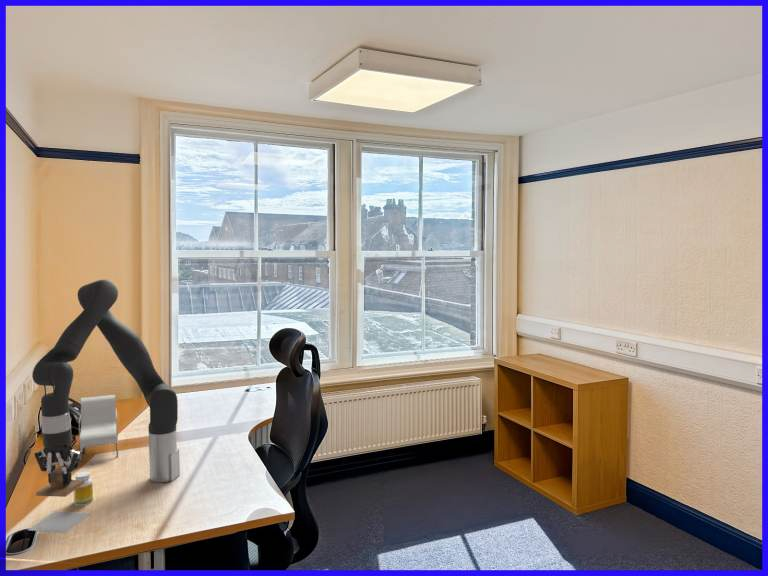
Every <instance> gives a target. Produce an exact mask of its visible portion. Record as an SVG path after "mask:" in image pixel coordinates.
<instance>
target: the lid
mask: <svg viewBox="0 0 768 576" xmlns="http://www.w3.org/2000/svg"><path fill="white" fill-rule="evenodd" d="M63 474H64V473H63V470H62V467H56V469H55V470H53V471H51V472H50V482H51V485H50V483H48V484H47V485H46V486H43V488H40V489H39V490H38V491H36V492H35V496H36V497H61V498H62V497H63V498H64V497H65V498H66V497H68V496H69V495H71V493H74V490H76V489H77V488H79V487H80V486H81V485H83V484H84V480H76V479H72V481H71V482H70V484H68V485H67V486H64V483H63Z"/></svg>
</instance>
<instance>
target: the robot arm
mask: <svg viewBox="0 0 768 576" xmlns="http://www.w3.org/2000/svg"><path fill="white" fill-rule="evenodd" d="M118 290H119V289H118V288H117V285H115V283H114V282H113V281H111V280H109V279H98V280H96V281H93V282H90V283H88V284H85V285H82V286H81V287H80V288H79V289H78V290H77V300H78V302H79V304H80V306H81V308H82V309H83V310H82V311H81V313H80V314H78V316H76V318H75V319H73V321H71V323H70V324H69V325H68V326H67V327H66V328H65V329H64V331H63V332H62V333H61V335H59V336H60V337H59V338H58V339H57V341H56V343H55V345H54V347H52V348H51V349H50V350H49V351H47V353H45V355H44V356H42V358H40V359H39V360H38V361H37V363H36V364H35V365H34V367H33V370H32V375H31V376H32V380H33V382H34V384H36V385H38V386H41V387H42V386H43V387H45V386H52V387H54V389H53V392H49V393H46V394H44V395H43V396H42V397H41V399H40V402H41V403H40V406H41V408H40V409H41V435H42V437H41V438H42V445H43V446H42V447H43V449H40V450H37V451H36V452H35V453H34V457H35V459H36V462H37V464H38V466H39V468H40V471H42V472H46V474H47V478H48V484H50V485H51V482H50V472H51V471H53V470H55V469H56V468H57V464H58V463H59V468H62V470H63V473H64V474H63V483H64V486H67V485H68V484H70V482H71V481H72V480H73V479H72V472H73V471H75V470H76V469H78V467H79V464H80V458H81V459H82V457H81V454H82V455H83V451H82V452H81V450H80V451H79V450H78V451H77V450H75V449H74V448H73V446H72V442H73V437H72V436H73V435H72V424H71V423H72V422H71V416H70V415H71V414H70V405H69V396H70V393H71V388H72V384H73V380H74V369H73V367H72V365H71V364H70V362H74V361H75V360H76V359H77V358H78V356H79V354H80V353H81V352H82V349H83V348H84V346H85V345H86V342H87V341H88V339H89V338H90V336H91V334H92V333H93V331H94V330H95V328H96V327H97V328H98V329H99V331H100V332H101V334H102V335H103V337H104V339H106V341H107V342H108V344H109V345H110V347H111V350H112V351H113V352H114V354H115V356H116V357H117V359H118V360H119V361H120V363H121V364H122V366H123V368H125V370H126V371H127V372H128V373H129V374H130V375H131V377H132V378H133V379H134V380H135V381H136V382H135V383H137V386H138V387H139V389H140V391H141V393H142V395H143V397H144V399H145V402H146V404H147V405H148V407H149V423H148V456H149V457H148V458H149V461H148V462H149V480H150V481H151V482H153V483H166V482H173V481H174V480H175V479H177V478H178V476H180V474H181V469H180V468H181V466H180V464H181V463H180V449H179V448H178V445H177V443H178V442H177V440H178V439H177V425H178V419H179V418H178V417H179V416H178V414H179V411H178V410H179V409H178V406H179V405H178V403H179V402H178V396H177V394H176V392H175V390H173V389H172V388H171V387H170V386H168V384H167V383H166V382H165V381H164V380H163V378H162V377H161V376H160V374H159V373H158V372H157V370H156V368H155V366H154V363H153V361H152V358H151V355H150V354H149V351H148V348H147V347H146V345H145V344H144V342H143V340H142V339H141V337H140V336H139V335H138V333H137V332H136V331H135V330H133V329H132V328H131V327H129V326H127V324H125V323H123V322H122V321H120V320H119V319H117V318H116V316H115V315H114V314H113V313H112V311H111V310H110V309H111V308H112V307H113V306H114V304H115V303H116V302H117V300H118V297H119V291H118ZM70 456H71V457H70Z"/></svg>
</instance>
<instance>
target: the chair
mask: <svg viewBox="0 0 768 576" xmlns="http://www.w3.org/2000/svg"><path fill="white" fill-rule="evenodd" d="M118 432H119V431H118V409H117V408H116V394H108V395H99V396H89V397H81V398H80V414H79V419H78V437H79V438H78V439H79V440H78V441H79V442H78V444H79V445H78V446H79V447H78V449H79V450H78V451H81V452H82V454H81V458H80V461H79V463H80V462H82V455H83V449H84V448H91V447H97V446H98V447H99V446H106V445H115V444H116V456H117V457H119V440H118V438H119V437H118V436H119V434H118Z"/></svg>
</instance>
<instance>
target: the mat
mask: <svg viewBox="0 0 768 576" xmlns="http://www.w3.org/2000/svg"><path fill="white" fill-rule="evenodd" d="M91 514H92V512H79V511H78V512H77V511H76V512H75V511H64V510H63V511H59V510H55V511H53V512H51V513H49V515H47V516H46V517H44V518H42V519H41V520H40V521H38V522H37V523H35V524H34V525H32V526H31V527H30V528H28V529H27V531H30V532H31V531H32V532H33V531H34V532H45V533H46V532H49V533H51V532H52V533H61V534H62V533H65V534H66V533H68V532H69V531H70V530H72V529H73V528H74V527H75V526H77V525H78V524H79V523H81V522H82V521H84V520H85V519H86V518H87V517H89V516H90V515H91Z"/></svg>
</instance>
